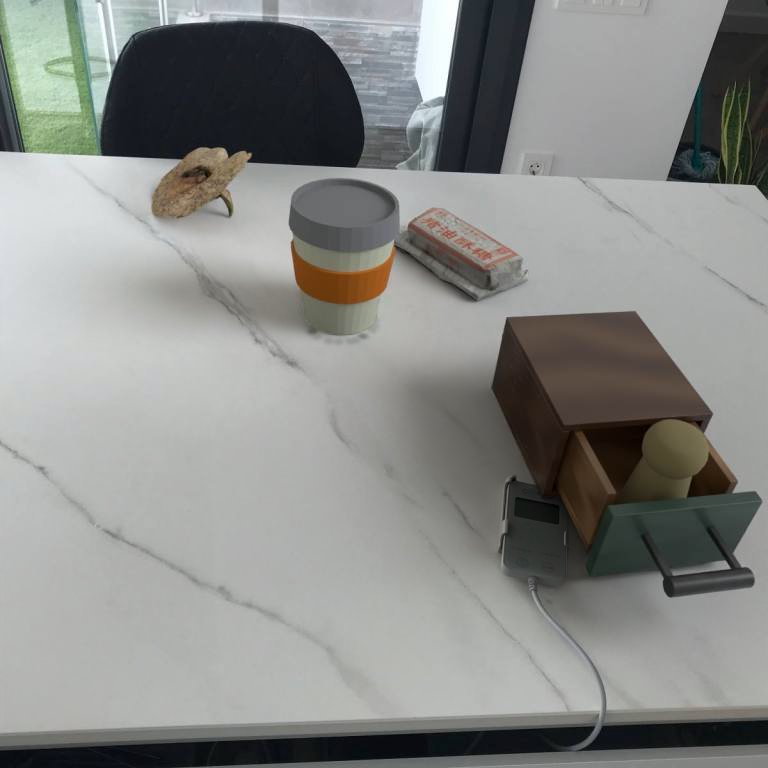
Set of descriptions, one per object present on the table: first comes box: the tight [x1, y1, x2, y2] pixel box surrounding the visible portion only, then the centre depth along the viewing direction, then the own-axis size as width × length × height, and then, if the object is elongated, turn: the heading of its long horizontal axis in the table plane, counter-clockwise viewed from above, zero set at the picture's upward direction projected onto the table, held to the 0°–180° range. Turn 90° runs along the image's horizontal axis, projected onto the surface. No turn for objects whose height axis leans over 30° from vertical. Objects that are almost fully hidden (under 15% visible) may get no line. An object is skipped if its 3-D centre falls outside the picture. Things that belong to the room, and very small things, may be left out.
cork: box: [612, 419, 709, 505], centre depth 66 cm, size 6×6×11 cm
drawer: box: [554, 421, 764, 599], centre depth 69 cm, size 21×13×8 cm, turn 11°
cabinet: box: [490, 310, 714, 500], centre depth 78 cm, size 17×15×10 cm
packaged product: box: [394, 207, 529, 302], centre depth 105 cm, size 18×5×10 cm
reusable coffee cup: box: [288, 177, 401, 336], centre depth 90 cm, size 13×13×15 cm
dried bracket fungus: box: [150, 146, 252, 219], centre depth 112 cm, size 18×14×8 cm
